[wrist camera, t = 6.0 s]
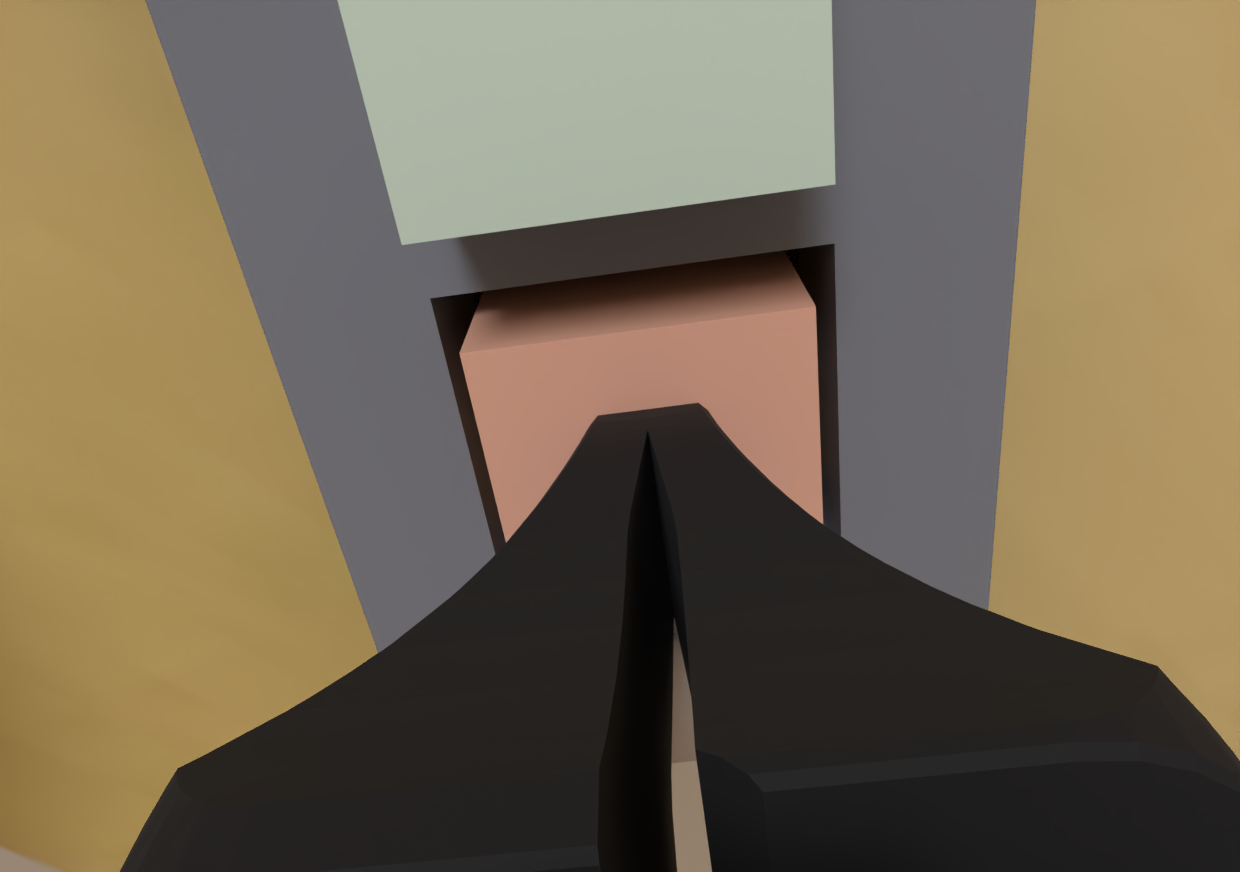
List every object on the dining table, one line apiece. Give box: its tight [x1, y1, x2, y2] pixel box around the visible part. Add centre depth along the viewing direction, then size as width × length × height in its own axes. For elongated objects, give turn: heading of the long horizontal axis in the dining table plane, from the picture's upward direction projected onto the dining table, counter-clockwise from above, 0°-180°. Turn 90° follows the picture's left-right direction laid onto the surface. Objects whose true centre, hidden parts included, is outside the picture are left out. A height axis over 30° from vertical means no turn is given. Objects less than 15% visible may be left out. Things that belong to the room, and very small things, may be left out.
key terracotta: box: [459, 250, 823, 542], centre depth 12 cm, size 4×4×3 cm
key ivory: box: [671, 634, 712, 872], centre depth 14 cm, size 4×4×3 cm
